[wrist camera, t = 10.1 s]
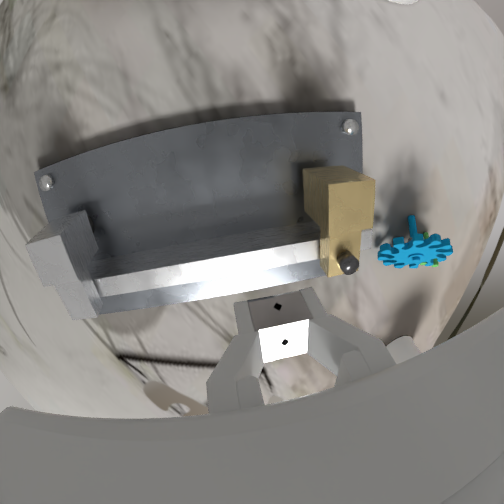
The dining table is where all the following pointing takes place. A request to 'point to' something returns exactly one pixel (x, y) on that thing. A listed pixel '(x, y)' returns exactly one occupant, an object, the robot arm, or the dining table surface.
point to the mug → (403, 349)
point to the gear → (415, 249)
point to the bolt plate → (201, 191)
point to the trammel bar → (159, 260)
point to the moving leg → (339, 214)
